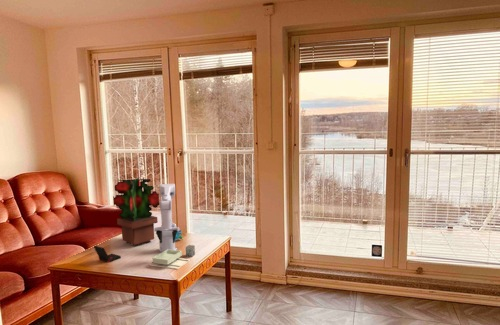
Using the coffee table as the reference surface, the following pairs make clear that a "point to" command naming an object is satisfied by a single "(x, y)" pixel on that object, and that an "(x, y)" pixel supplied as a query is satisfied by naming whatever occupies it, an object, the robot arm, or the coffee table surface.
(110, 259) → the handheld gaming console
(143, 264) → the coffee table surface
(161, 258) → the mint green storage bin
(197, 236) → the coffee table surface
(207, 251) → the coffee table surface
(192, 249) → the part block
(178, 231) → the gear
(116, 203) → the potted plant
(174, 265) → the rail board
